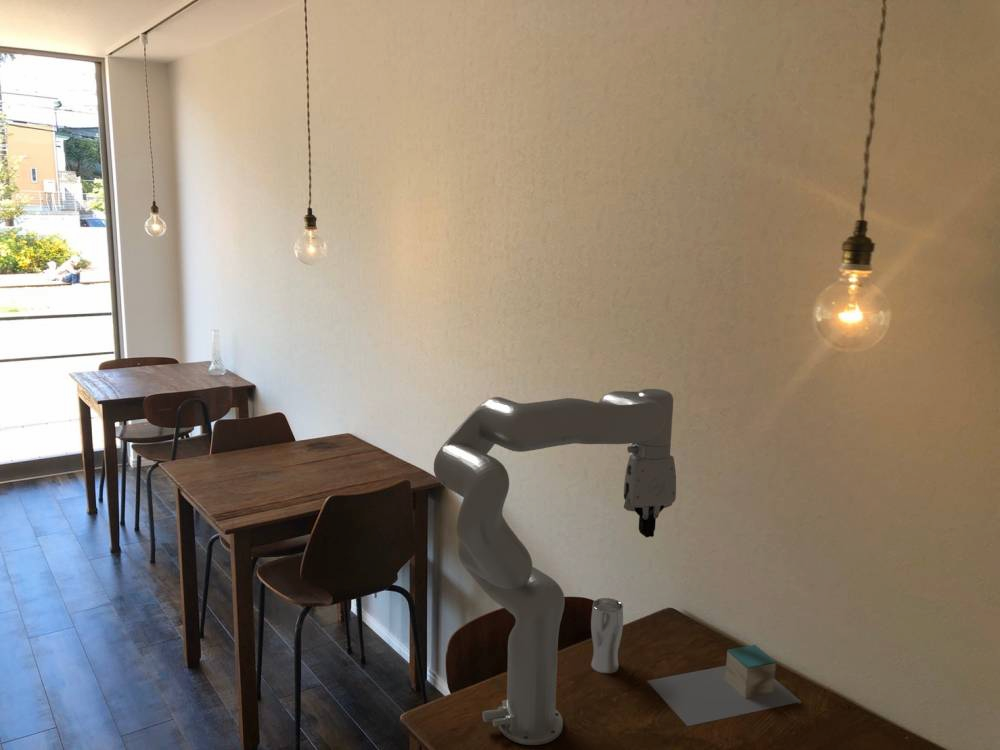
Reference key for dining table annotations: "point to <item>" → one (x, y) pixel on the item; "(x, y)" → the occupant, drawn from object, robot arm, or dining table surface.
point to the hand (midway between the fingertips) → (646, 534)
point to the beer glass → (606, 634)
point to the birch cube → (750, 671)
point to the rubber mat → (714, 696)
